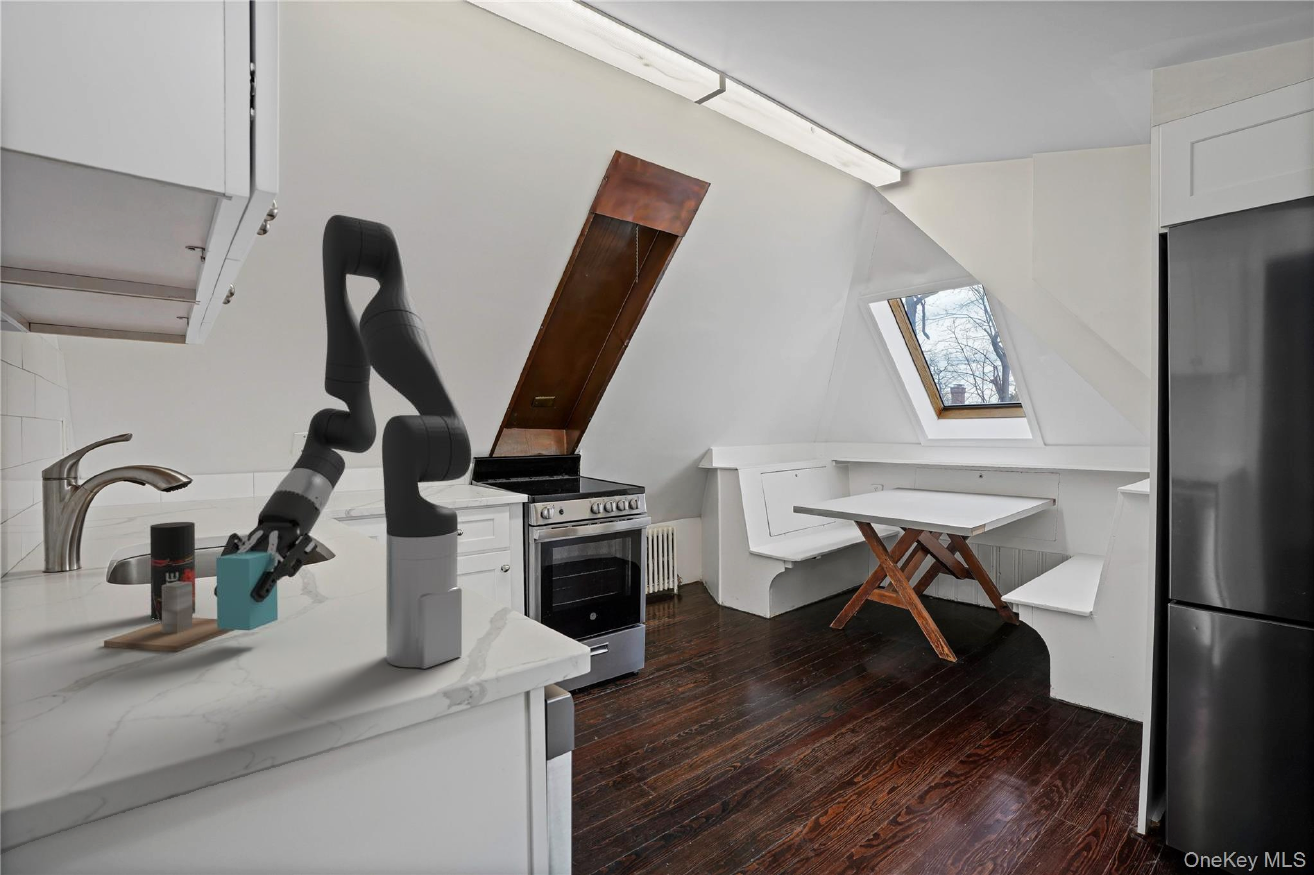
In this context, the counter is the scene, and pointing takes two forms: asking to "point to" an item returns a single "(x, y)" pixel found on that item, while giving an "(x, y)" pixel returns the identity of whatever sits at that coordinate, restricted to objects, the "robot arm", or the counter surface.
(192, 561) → the deodorant
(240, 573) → the teal block
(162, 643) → the post board
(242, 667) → the counter surface
